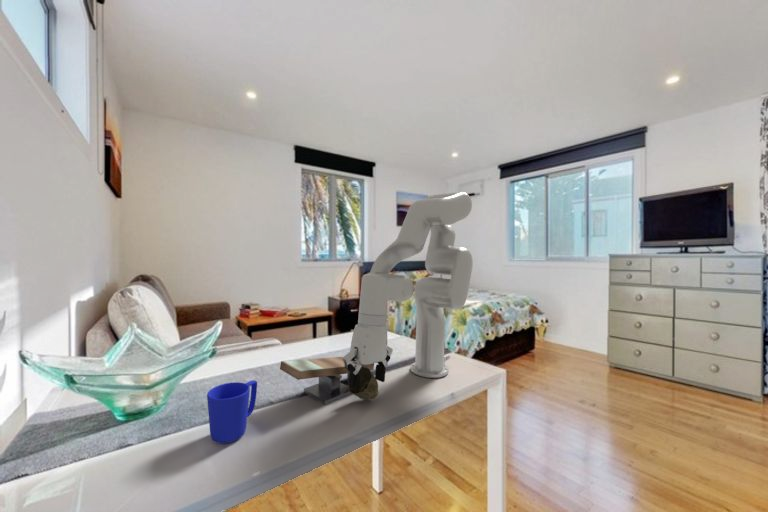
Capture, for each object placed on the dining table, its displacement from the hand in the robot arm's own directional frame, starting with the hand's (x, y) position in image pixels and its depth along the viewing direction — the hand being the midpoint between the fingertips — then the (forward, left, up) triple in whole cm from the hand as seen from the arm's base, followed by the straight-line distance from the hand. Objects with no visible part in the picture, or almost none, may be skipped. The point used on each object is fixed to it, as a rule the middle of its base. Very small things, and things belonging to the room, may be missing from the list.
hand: (366, 384), depth 85 cm
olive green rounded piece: (-3, 0, -4) cm, 5 cm away
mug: (+30, -10, -5) cm, 32 cm away
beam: (+4, -11, +1) cm, 12 cm away
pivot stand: (0, -11, -5) cm, 12 cm away
